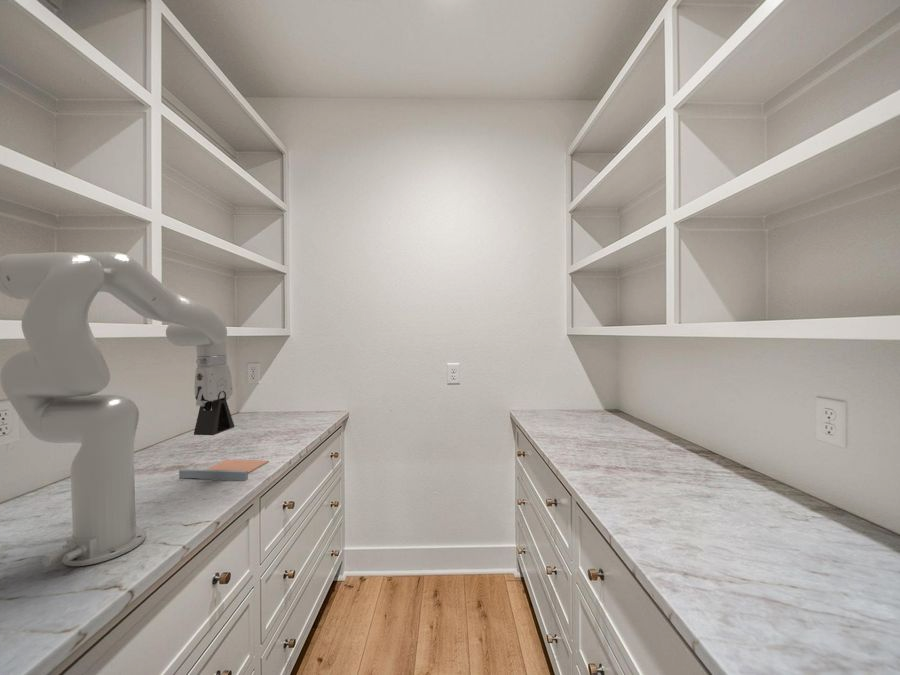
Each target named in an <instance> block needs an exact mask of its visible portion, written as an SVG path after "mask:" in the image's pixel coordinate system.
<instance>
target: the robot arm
mask: <svg viewBox="0 0 900 675" xmlns="http://www.w3.org/2000/svg"><path fill="white" fill-rule="evenodd" d="M103 292H105V293H108V294H109V295H112V296H113V297H115V299H117V300H119V301H120V302H121V303H123V304H125V305H126V306H127V307H128V308H130V309H131V310H132V311H134V312H135V313H136V314H138V315H139V316H141V317H143V318H146V319H150V320H153V321H156V322H157V321H158V322H162V323H169V325H167V326H166V329H165V336H166V338H167V340H168V341H169V342H170V343H171V344H172V345H175V346H177V347H178V346H179V347H196V361H195V363H196V365H197V366H196V368H195V374H194V399H195V400H196V403H195V406H196V407H199V408H200V407H202V408H203V409H204V411H212V408H213V405H214V401H216V400H218V395H219V393H220V392H221V393H220V396H219V398H220V399H223V398H225V393H226V401H228V400H229V399H230V398H231V396H232V395H233V392H234V391H233V380H232V373H231V370H230V366H229V364H228V357H227V356H228V355H227V336H228V329H227V326H226V324H225V321H224V320H222V318H221V317H220V316H219V315H218V314H216V312H215V311H214V310H212V309H211V308H210V307H208V306H207V305H205V304H203V303H201V302H199V301H196V300H194V299H191V298H189V297H187V296H184V295H181V294H179V293H177V292H174V291H172V290H170V289H169V288H168V287H166V286H165V284H163V283H162V282H161V281H159V279H157V278H156V277H155V276H154V275H153V274H151V272H150V271H148V270H147V268H145V267H144V266H143V265H142V264H141V263H139V262H138V261H137V260H136V259H134V258H133V256H132V257H131V256H130V255H129V254H125V253H122V252H116V251H102V252H101V251H100V252H99V251H98V252H93V251H92V252H66V251H65V252H64V251H63V252H61V251H59V252H53V251H52V252H35V253H34V252H33V253H10V254H6V255H3V256H0V293H1V294H3V295H5V296H8V297H10V298H13V299H16V300H24V301H25V300H29V301H28V303H27V304H26V307H25V309H24V311H23V314H22V318H21V331H22V334H23V337H24V339H25V341H26V343H27V345H28V346H27V347H28V348H29V349H26V350H21V351H17V352H16V353H14V354H13V355H11V356H10V357H8V359H7V360H6V361H5V362H4V363H3V365H2V367H1V370H0V386H1V388H2V391H3V393H4V394H5V396H6V398H7V400H8V401H9V403H10V404H11V405H12V407H13V409H14V411H15V412H16V413H17V415H18V417H19V418H20V420H21V421H22V423H23V425H24V426H25V428H26V429H27V430H28V432H29V433H30V434H31V435H32V436H33V437H34V438H36V439H38V440H40V441H42V442H46V443H53V444H55V443H56V444H66V443H67V444H68V443H75V444H76V443H78V444H81V445H80V448H79V449H78V451H77V453H76V454H75V456H74V458H73V460H72V462H71V466H70V490H71V492H70V497H71V498H70V499H71V520H72V521H71V522H72V523H71V525H72V535H71V536H69V537H67V538H66V539H65V541H66V542H65V544H64V545H63V546H62V547H61V548H60V549H58V550H56V551H55V550H54V551H53V552H51V553H49V554H47V555H45V556H44V557H42V561H41V562H42V565H43V566H44V567H50V566H52V565H54V564H56V563H58V562H59V561H61V562H62V564H64V565H65V566H69V567H84V566H85V567H86V566H89V565H90V566H91V565H95V564H98V563H103V562H107V561H109V560H111V559H115V558H117V557H120V556H121V555H125V554H126V553H128V552H130V551H132V550H134V549H135V548H136V547H139V545H141V544H142V543H143V542H144V541H145V539H146V535H147V533H146V530H145V529H144V528H143V527H138V526H137V515H136V486H135V485H136V482H135V453H134V452H135V438H136V435H137V434H136V433H137V429H138V423H139V417H140V414H139V413H140V412H139V408H138V406H137V404H136V403H135V402H134V401H133V400H131V399H130V398H128V397H126V396H122V395H117V394H99V392H102V391H103V390H104V389H106V388H107V387H108V386H109V383H110V380H111V373H110V370H109V369H110V368H109V366H108V364H107V361H106V359H105V357H104V355H103V353H102V351H101V349H100V347H99V345H98V342H97V341H96V340H97V339H96V338H95V336H94V334H93V332H92V329H91V327H90V324H89V310H90V307H91V305H92V303H93V301H94V299H95V298H96V296H97V295H98V293H103ZM223 391H224V392H225V393H224V392H223ZM97 393H98V394H97ZM209 403H210V404H209ZM222 421H223V412H222V409H220V415H219V422H222Z"/></svg>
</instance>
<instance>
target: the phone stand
mask: <svg viewBox="0 0 900 675" xmlns="http://www.w3.org/2000/svg"><path fill="white" fill-rule="evenodd" d="M223 392H224V391H223ZM220 393H221V392H220ZM220 393H219V395H218V400H216V401H214V405H213V408H212V411H204V409H203V408H202V407H200V406H199V409H198V414H197V418H196V423H195V427H194V431H193V435H194V436H215V435H218V434H220V433H223V432H225V431H228V430H231V429H234V428H235V424H234V420H233V417H232V415H231V412H230V409H229V405H228V402H227V401H228V400H226V393H225V392H224V393H225V398H223V399H220V398H219V396H220ZM209 404H210V403H209ZM220 409H222V412H223V421H222V422H219V415H220Z"/></svg>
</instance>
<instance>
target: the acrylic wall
mask: <svg viewBox="0 0 900 675" xmlns="http://www.w3.org/2000/svg"><path fill="white" fill-rule="evenodd" d="M248 474H249V473H248V471H231V470H205V469H197V468H196V469H195V468H194V469H193V468H182V469H179V470H178V478H199V479H198V480H208V479H218V480H217V481H236V480H240V482H244V481H247V480H249V475H248ZM219 479H220V480H219Z"/></svg>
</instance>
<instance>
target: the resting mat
mask: <svg viewBox="0 0 900 675" xmlns="http://www.w3.org/2000/svg"><path fill="white" fill-rule="evenodd" d="M269 462H270V461H269V460H257V459H256V460H255V459H253V460H252V459H251V460H250V459H225V460H223V461H220V462H218V463H216V464H214V465H212V466H210V467H208V468H205V469H204V470H231V471H248V474H251V473H252V472H254V471H255V470H257V469H259V468H261V467H263V466H265V465H266V464H268V463H269Z"/></svg>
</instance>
